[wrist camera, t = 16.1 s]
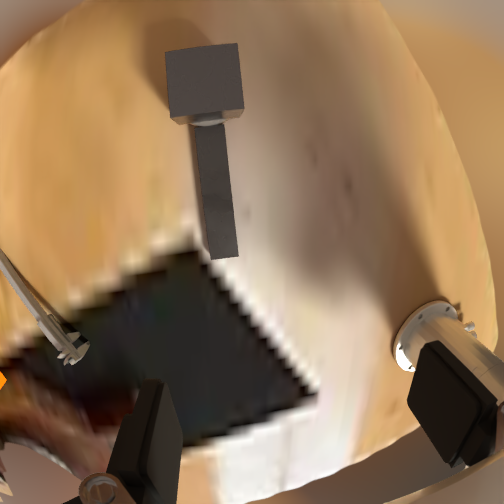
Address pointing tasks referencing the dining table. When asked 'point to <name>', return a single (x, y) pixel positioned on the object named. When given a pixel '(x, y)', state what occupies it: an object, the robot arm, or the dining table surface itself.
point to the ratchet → (216, 188)
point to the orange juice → (2, 380)
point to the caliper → (44, 317)
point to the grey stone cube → (204, 83)
